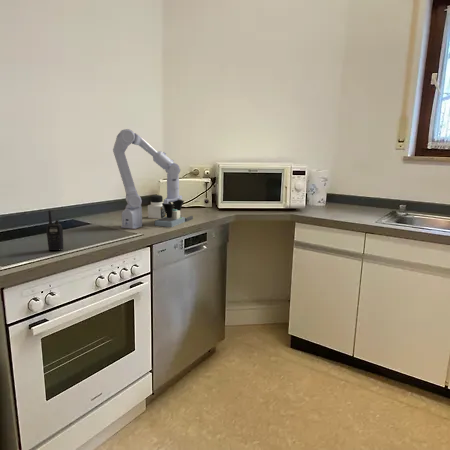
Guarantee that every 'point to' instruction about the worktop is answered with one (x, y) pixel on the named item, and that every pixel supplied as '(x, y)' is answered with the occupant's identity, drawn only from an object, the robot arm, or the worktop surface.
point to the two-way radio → (54, 234)
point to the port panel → (169, 222)
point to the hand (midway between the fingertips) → (173, 216)
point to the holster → (188, 218)
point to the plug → (175, 214)
